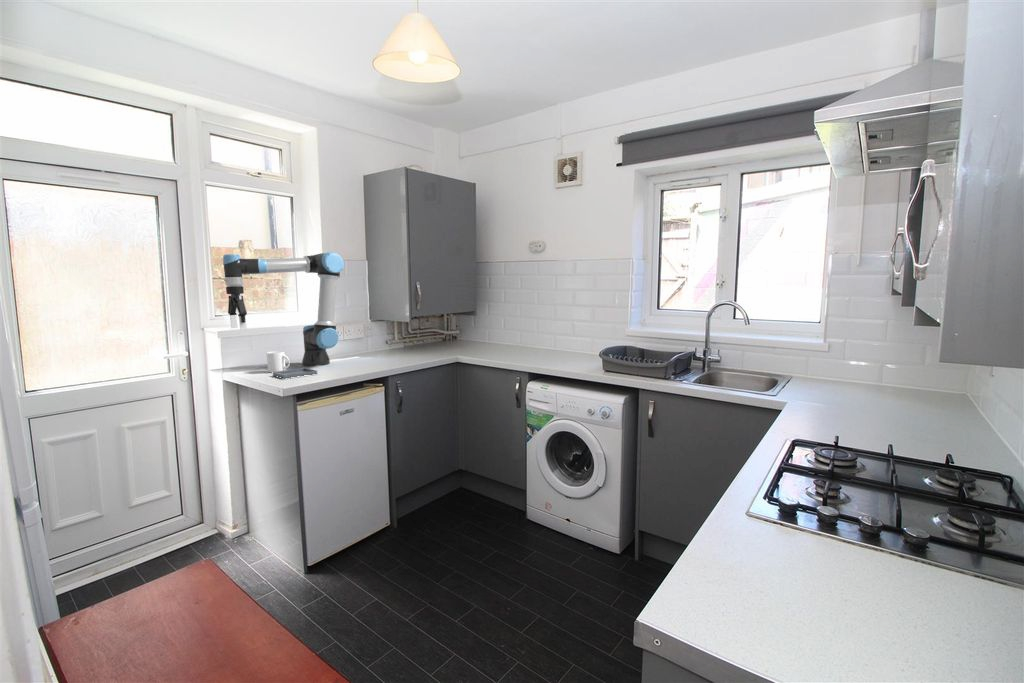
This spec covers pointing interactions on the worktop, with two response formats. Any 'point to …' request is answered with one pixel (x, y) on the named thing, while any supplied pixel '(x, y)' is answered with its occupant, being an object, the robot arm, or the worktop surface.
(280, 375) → the holder tray
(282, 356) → the mug
